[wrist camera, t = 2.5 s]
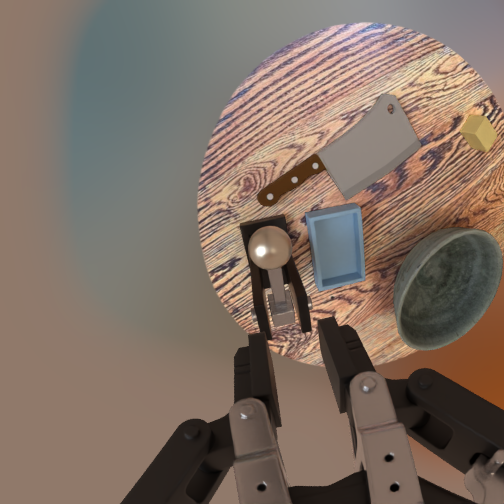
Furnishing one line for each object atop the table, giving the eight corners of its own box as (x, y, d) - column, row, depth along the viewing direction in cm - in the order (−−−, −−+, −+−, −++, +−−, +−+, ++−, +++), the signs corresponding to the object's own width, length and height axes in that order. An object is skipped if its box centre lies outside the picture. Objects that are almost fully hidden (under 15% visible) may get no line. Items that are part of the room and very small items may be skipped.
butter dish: (305, 212, 41) (308, 218, 39) (354, 202, 41) (360, 207, 38) (315, 283, 46) (319, 291, 43) (359, 272, 45) (365, 280, 43)
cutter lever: (242, 222, 22) (247, 257, 20) (285, 212, 22) (295, 246, 20) (265, 304, 33) (270, 332, 31) (294, 298, 32) (301, 325, 30)
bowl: (438, 180, 40) (479, 198, 30) (482, 261, 46) (514, 286, 37) (347, 274, 45) (371, 311, 36) (408, 335, 52) (431, 370, 42)
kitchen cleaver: (289, 242, 42) (245, 184, 38) (287, 239, 43) (245, 182, 39) (425, 149, 37) (395, 87, 33) (421, 148, 38) (391, 87, 34)
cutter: (239, 223, 41) (241, 281, 27) (283, 214, 41) (308, 267, 27) (255, 286, 45) (263, 361, 31) (295, 278, 45) (319, 349, 31)
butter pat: (459, 131, 36) (475, 134, 33) (469, 114, 35) (485, 116, 32) (472, 148, 37) (487, 152, 34) (482, 131, 36) (498, 134, 33)
